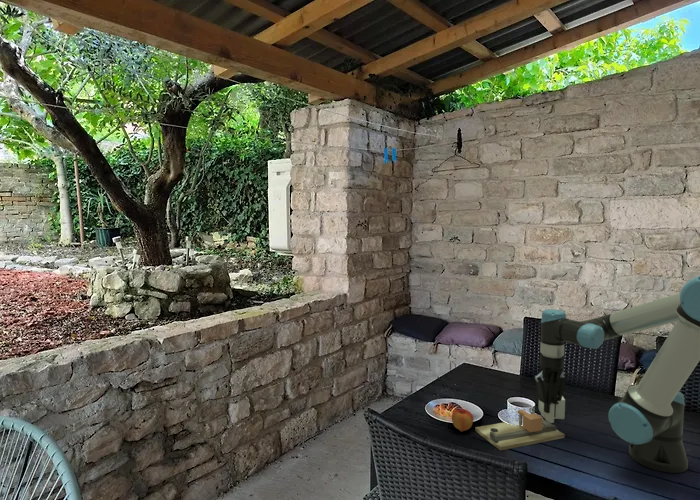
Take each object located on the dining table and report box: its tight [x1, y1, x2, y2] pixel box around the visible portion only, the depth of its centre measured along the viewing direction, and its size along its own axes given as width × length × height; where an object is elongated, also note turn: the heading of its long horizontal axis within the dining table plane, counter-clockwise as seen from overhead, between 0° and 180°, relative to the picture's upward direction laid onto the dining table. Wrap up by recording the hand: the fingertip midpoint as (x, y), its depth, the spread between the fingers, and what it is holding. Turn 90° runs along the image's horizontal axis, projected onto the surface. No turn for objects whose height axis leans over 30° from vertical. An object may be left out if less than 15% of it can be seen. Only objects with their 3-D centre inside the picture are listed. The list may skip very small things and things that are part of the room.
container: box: [538, 395, 566, 420], centre depth 170 cm, size 8×8×13 cm
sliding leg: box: [517, 409, 544, 432], centre depth 155 cm, size 8×5×6 cm, turn 18°
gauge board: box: [474, 419, 566, 451], centre depth 155 cm, size 14×26×4 cm, turn 108°
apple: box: [451, 406, 474, 432], centre depth 158 cm, size 7×7×8 cm
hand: (549, 421), depth 156 cm, fingers closed
